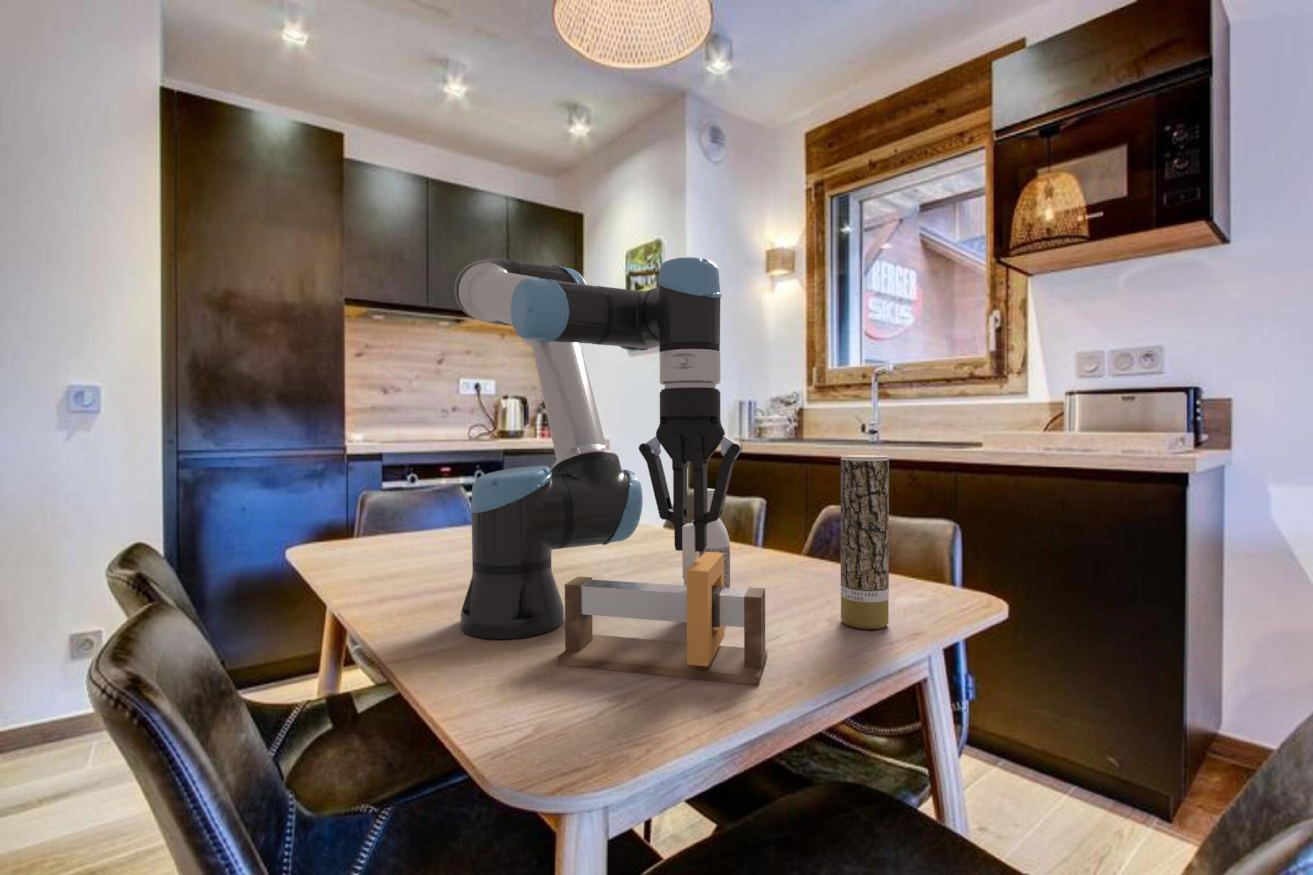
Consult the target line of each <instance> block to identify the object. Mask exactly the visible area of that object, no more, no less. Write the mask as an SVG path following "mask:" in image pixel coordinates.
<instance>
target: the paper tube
mask: <svg viewBox="0 0 1313 875" xmlns="http://www.w3.org/2000/svg"><path fill="white" fill-rule="evenodd" d="M889 519H890V460H889V455H878V454H877V455H873V454H871V455H870V454H858V455H857V454H856V455H855V454H852V455H850V454H847V455H841V457H840V620H841V621H842V623H843V624H844V625H846V626H849V627H851V628H854V629H860V630H869V631H870V630H881V629H883V628H885V627H886V626H887V625H888V624H889V616H890V615H889V612H890V611H889V604H890V603H889V602H890V601H889V599H890V593H889V592H890V591H889V590H890V582H889V581H890V578H889V577H890V574H889V573H890V571H889V570H890V569H889V568H890V562H889V561H890V560H889V558H890V551H889V550H890V548H889V547H890V538H889V537H890V520H889Z"/></svg>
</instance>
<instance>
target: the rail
mask: <svg viewBox="0 0 1313 875" xmlns="http://www.w3.org/2000/svg"><path fill="white" fill-rule="evenodd" d="M580 590H581V614H585V615H592V616H598V617H610V618H611V617H612V618H613V617H614V618H622V619H623V618H624V619H635V620H636V619H637V620H650V621H663V622H664V621H665V622H671V623H672V622H675V623H686V624H687V586H684V584H683V585H682V584H681V585H680V584H665V583H649V582H637V581H635V582H634V581H633V582H632V581H619V580H602V579H592V580H589V581H588V582H586V583H585V584H583V585H582V586H580ZM747 590H748V589H744V588H731V587H730V588H725V586H715V585H712V627H720V626H721V625H722V626H724V627H737V628H739V627H740V628H744V596H745V594H746V592H747Z"/></svg>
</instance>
